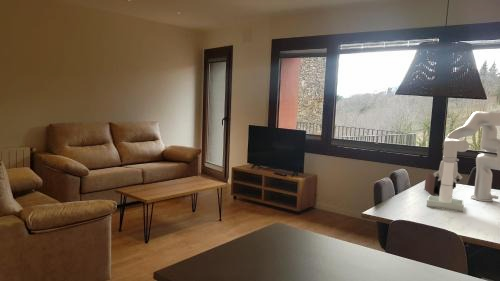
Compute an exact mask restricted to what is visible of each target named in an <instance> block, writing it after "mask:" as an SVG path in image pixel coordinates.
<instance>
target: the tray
mask: <svg viewBox="0 0 500 281" xmlns="http://www.w3.org/2000/svg"><path fill="white" fill-rule="evenodd" d="M464 206H465V205H464V200H463V199H457V198H452V202H451V203H445V202H441V201H439V196H432V195H428V196H427V200H426V207H429V208H434V209H435V208H436V209H440V210H448V211H454V212H460V213H461V212H462V213H463V212H464Z"/></svg>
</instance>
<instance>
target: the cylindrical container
mask: <svg viewBox="0 0 500 281" xmlns="http://www.w3.org/2000/svg"><path fill="white" fill-rule="evenodd" d="M453 169H454V163H447V162H444V169H443V176H442V178H441V185H440V194H439V196H438V197H439V201H441V202H445V203H451V202H452V199H453V191H454V189H453V183H454V179H453Z"/></svg>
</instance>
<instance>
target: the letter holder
mask: <svg viewBox="0 0 500 281" xmlns="http://www.w3.org/2000/svg"><path fill="white" fill-rule="evenodd" d="M424 181H425V182H424V190H425V191H426V192H427V193H429V194H430V196H436V197H439V194H440V187H439V186H438V180H437V178H436V177H435V176H434V173H431V172H426V175H425V180H424Z"/></svg>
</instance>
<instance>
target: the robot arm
mask: <svg viewBox="0 0 500 281" xmlns="http://www.w3.org/2000/svg"><path fill="white" fill-rule="evenodd" d="M496 126H498V127H500V112H497V111H495V112H493V111H475V112H474V111H473V113H471V115H470V116H469V117H468V119H467V120H466V122H465V123H464V124H463V126H460V127H458V128H456V129H454V130H452V131H451V132H449V133H448V135H446V138H445V139H444V141H443V144H442V145H443V150H442V160H441V161H440V162H439V163H440V164H439V168H438V170H437V171H435V172H433V175H434V176H435V177H436V178H437V180H438V186H439V187H440V185H441V178H442V176H443V169H444V162H447V163H454V169H453V179H454V183H453V190H455V189H456V186H457V183H458V182H459V181H461V180H462V179H463V178H464V177H463V176H462V174H460V173H459V172H458V170H459V168H458V162H459V161H460V159H459V158H457V155H458V152H460V153H465V152H466V151H468V150H469V147H470V144H469V142H468V141H467V140H465V139H462V138H466V137H471V136H474V135H476V134H477V132H478V131H479V129H480V128H481V130H482V132H481V141H480V149H481V151H483V152H484V153H479V154H477V156H476V158H475V165H476V166H475V167H476V172H475V180H474V191H473V194H472V195H471V196H470V198H471V200H472V199H473V200H475V201H479V202H486V203H488V202H493V200H494V199H495V200H499V196H497V195H493V194H492V193H491V192H492V191H491V190H492V183H493V172H492V170H496V171H500V138H498V129H497V127H496ZM485 152H487V153H485ZM491 153H492V154H491ZM494 153H495V154H494ZM491 169H492V170H491Z"/></svg>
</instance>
